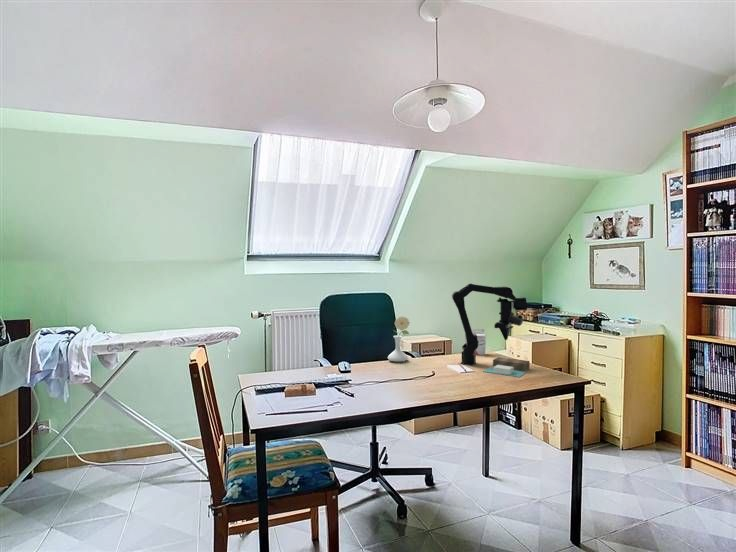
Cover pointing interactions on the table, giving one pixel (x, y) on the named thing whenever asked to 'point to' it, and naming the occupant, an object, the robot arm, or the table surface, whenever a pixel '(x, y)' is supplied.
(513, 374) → the mat
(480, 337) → the ink cartridge box
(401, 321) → the flower in vase
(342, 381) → the table surface
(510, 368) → the tile
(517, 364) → the brown rectangular block
